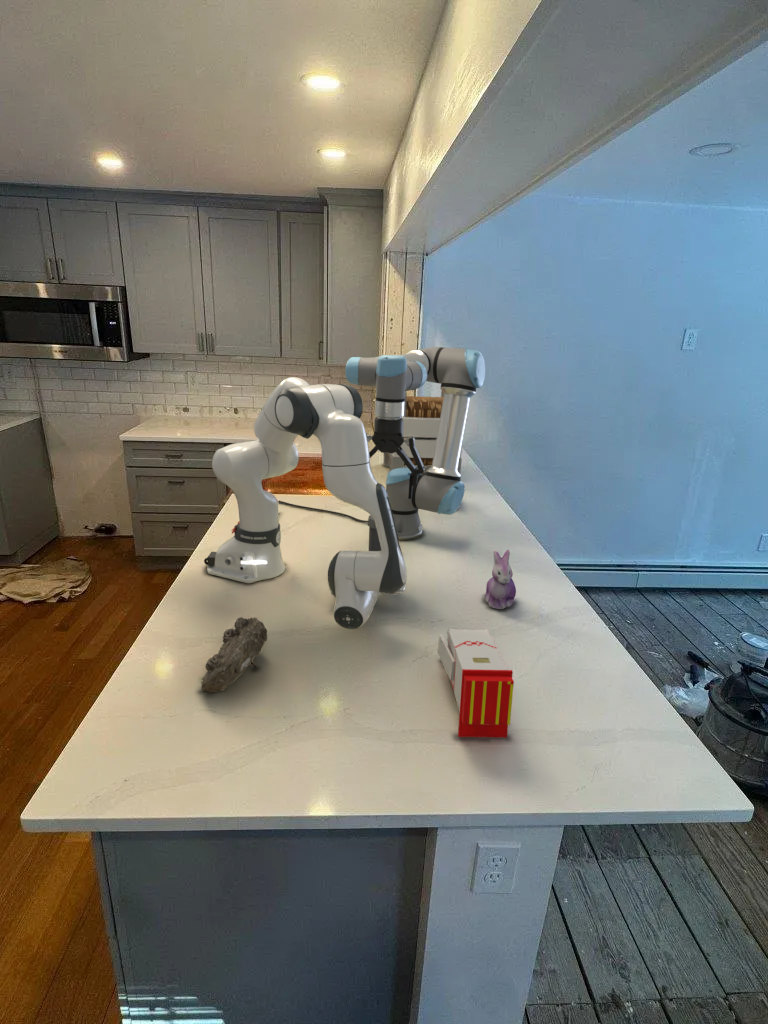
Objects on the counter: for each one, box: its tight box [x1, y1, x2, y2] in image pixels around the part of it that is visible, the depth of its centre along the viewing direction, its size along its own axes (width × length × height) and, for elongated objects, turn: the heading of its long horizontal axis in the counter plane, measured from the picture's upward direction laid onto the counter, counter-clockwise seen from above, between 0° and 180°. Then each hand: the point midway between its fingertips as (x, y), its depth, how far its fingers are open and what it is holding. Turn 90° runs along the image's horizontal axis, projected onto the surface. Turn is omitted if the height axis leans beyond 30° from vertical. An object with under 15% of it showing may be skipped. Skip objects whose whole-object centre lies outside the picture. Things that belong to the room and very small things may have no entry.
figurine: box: [484, 549, 517, 610], centre depth 153 cm, size 9×10×15 cm
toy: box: [437, 628, 515, 738], centre depth 117 cm, size 12×13×30 cm
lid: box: [367, 514, 377, 529], centre depth 156 cm, size 5×5×2 cm
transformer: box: [383, 391, 464, 475], centre depth 268 cm, size 34×33×41 cm
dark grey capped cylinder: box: [367, 526, 381, 551], centre depth 159 cm, size 4×4×20 cm
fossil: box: [201, 616, 268, 694], centre depth 122 cm, size 22×10×15 cm
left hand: (374, 565), depth 159 cm, fingers open, 8 cm apart
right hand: (385, 495), depth 154 cm, fingers open, 13 cm apart
